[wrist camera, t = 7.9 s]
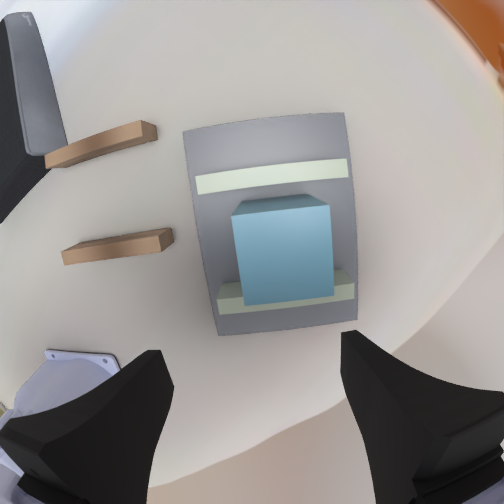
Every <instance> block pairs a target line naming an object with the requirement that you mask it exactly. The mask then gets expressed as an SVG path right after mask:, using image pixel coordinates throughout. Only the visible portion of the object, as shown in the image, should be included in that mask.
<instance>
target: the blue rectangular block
mask: <svg viewBox="0 0 504 504" xmlns="http://www.w3.org/2000/svg"><path fill="white" fill-rule="evenodd" d="M231 219H232V226H233V233H234V240H235V247H236V253H237V260H238V267H239V273H240V280H241V286H242V293H243V299H244V306H250V305H260V304H270V303H279V302H288V301H296V300H305V299H313V298H320V297H328V296H334V270H333V248H332V232H331V218H330V205H329V204H327V203H325V202H323V201H321V200H319V199H317V198H315V197H313V196H311V195H309V194H299V195H290V196H281V197H272V198H263V199H255V200H247V201H242V202H241V203H240V204H239V206H238V207H237V209H236V210H235V211H234V213H233V214H232V215H231Z"/></svg>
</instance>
